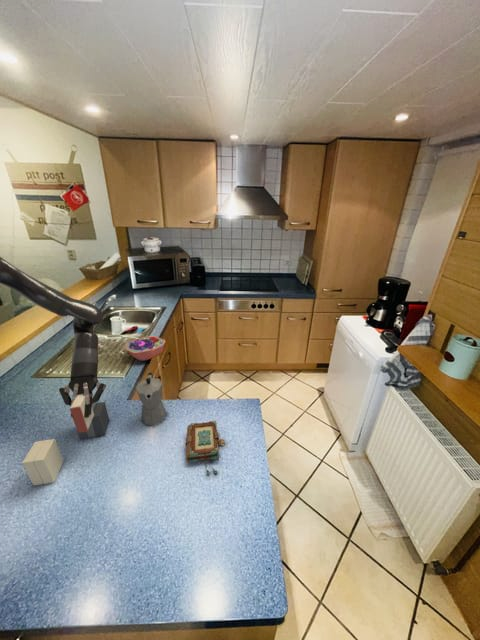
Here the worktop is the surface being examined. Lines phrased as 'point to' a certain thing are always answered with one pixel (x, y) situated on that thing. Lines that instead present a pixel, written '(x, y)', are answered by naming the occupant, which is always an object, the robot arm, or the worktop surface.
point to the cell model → (145, 347)
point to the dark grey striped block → (97, 421)
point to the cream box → (43, 462)
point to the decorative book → (202, 442)
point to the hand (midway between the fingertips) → (81, 417)
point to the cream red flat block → (80, 414)
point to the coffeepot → (151, 400)
